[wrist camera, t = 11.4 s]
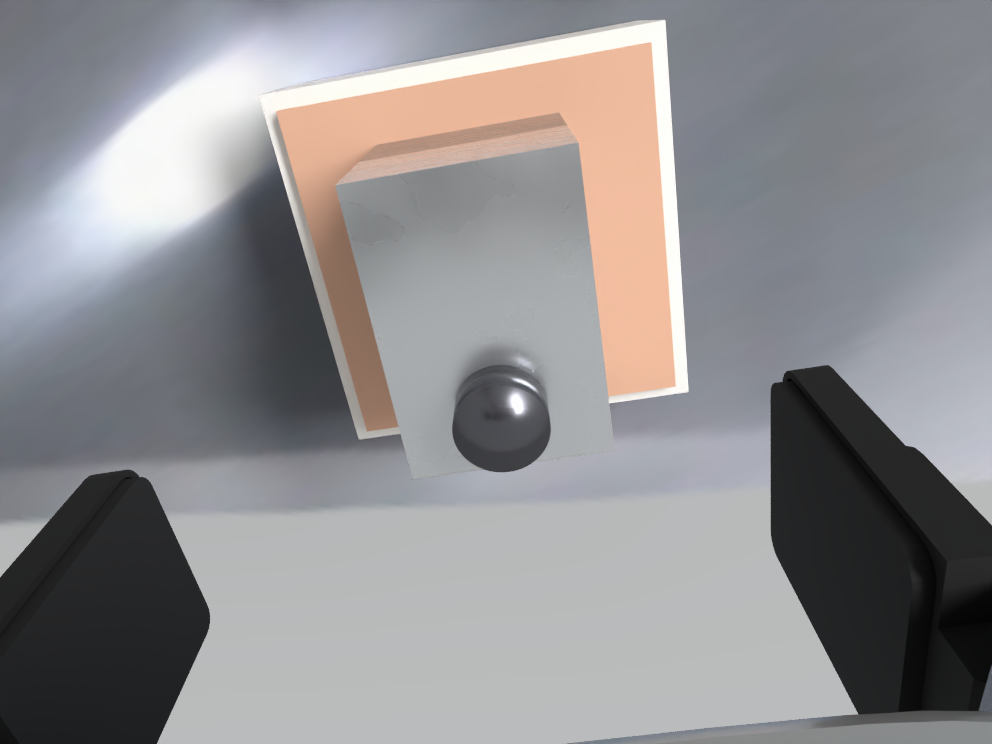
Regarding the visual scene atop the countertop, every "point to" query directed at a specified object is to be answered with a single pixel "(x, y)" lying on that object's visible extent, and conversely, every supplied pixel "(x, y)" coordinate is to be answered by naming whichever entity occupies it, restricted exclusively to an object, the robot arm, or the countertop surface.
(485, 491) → the countertop surface
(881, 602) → the robot arm
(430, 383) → the housing
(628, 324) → the stand
